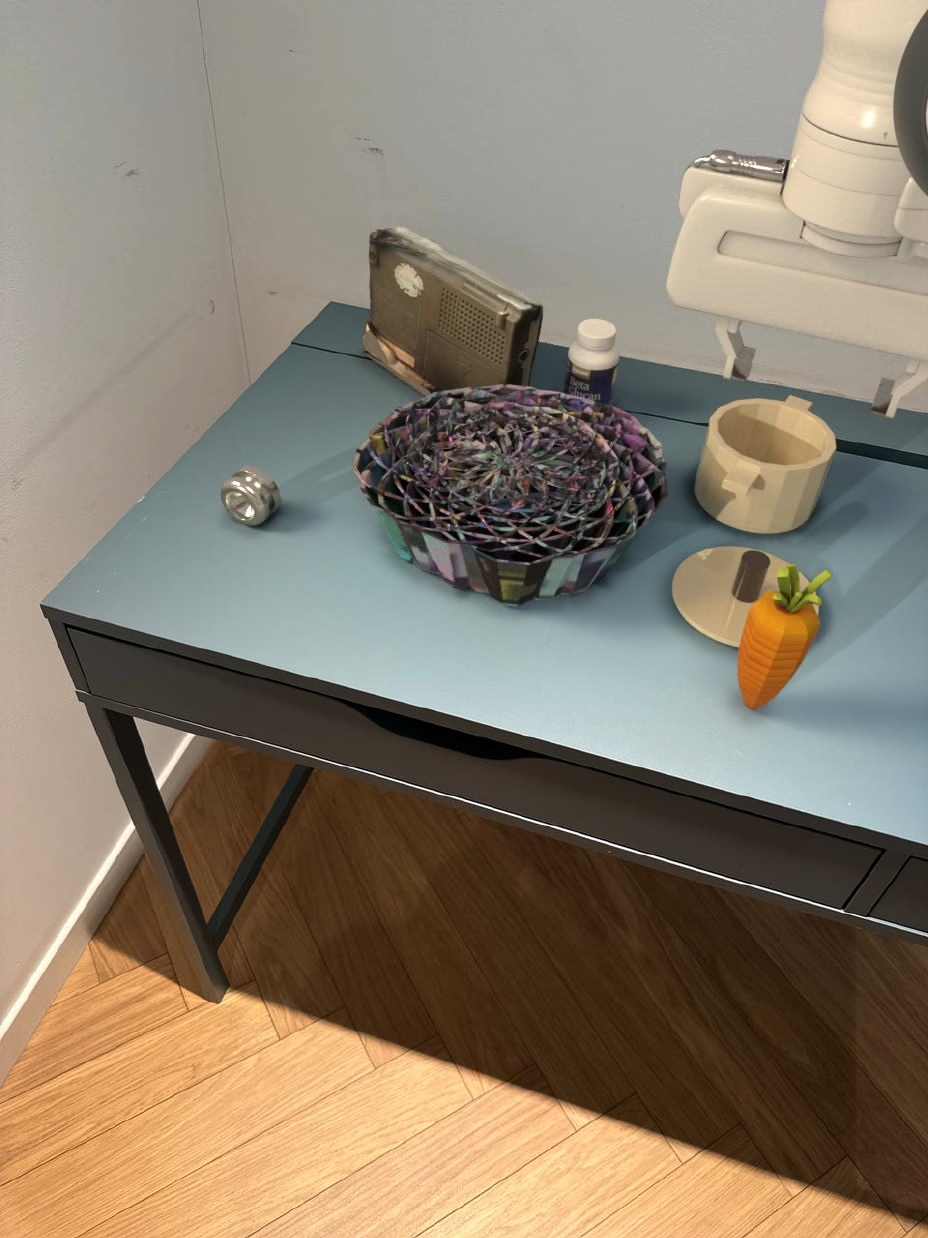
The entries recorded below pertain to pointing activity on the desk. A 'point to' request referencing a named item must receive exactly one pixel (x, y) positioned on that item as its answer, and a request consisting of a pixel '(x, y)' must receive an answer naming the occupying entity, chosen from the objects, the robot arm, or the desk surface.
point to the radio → (445, 317)
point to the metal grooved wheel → (250, 495)
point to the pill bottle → (593, 362)
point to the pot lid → (725, 589)
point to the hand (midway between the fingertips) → (807, 393)
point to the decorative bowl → (512, 487)
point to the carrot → (777, 637)
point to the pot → (764, 464)
